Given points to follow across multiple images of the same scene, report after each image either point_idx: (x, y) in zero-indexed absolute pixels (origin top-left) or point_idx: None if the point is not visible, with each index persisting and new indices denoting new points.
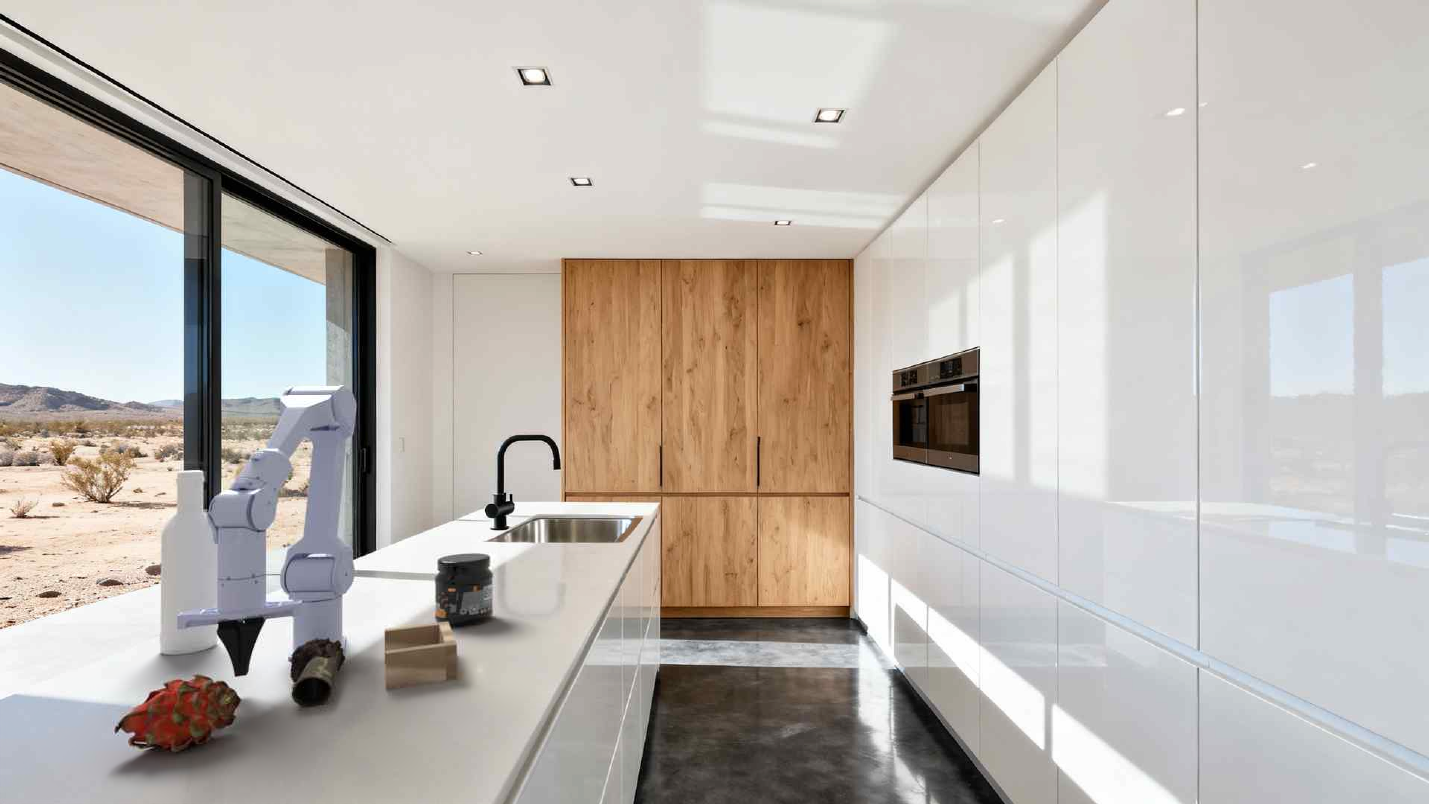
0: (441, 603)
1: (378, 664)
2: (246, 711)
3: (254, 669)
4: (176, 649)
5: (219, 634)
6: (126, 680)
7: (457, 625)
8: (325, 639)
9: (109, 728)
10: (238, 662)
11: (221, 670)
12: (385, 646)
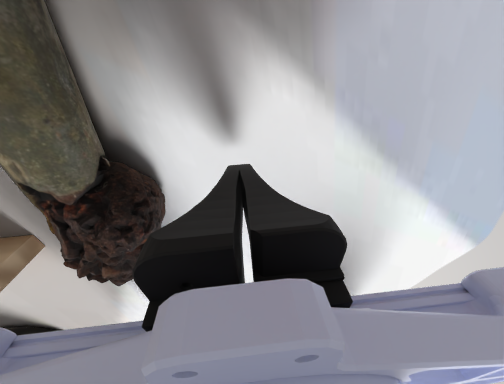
0: None
1: (45, 234)
2: (194, 31)
3: (249, 257)
4: None
5: (328, 219)
6: (384, 257)
7: (20, 328)
8: (113, 283)
9: (456, 49)
10: (243, 176)
11: None
12: (1, 262)
